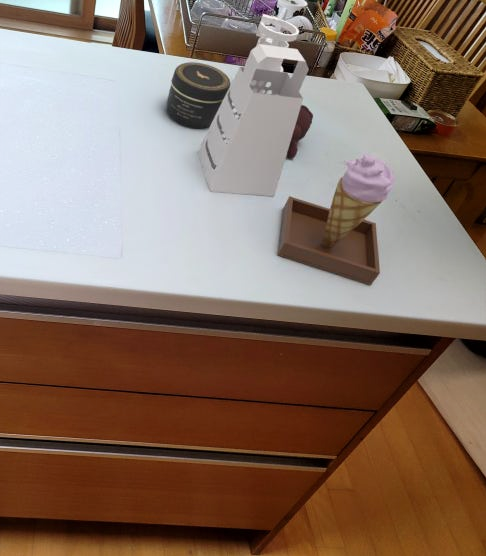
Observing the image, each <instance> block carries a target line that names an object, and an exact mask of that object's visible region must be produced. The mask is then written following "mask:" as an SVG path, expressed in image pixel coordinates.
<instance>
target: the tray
mask: <svg viewBox="0 0 486 556" xmlns="http://www.w3.org/2000/svg"><path fill="white" fill-rule="evenodd" d="M329 211H330V208H328V207H325V206H322V205H319V204H315V203H313V202H309V201H306V200H303V199H300V198H297V197H293V196H288V198H287V200H286V201H285V204H284V206H283V208H282V215H281V223H280V232H279V240H278V241H279V242H278V249H277V256H278V257H281V258H285V259H288V260H290V261H294V262H297V263H300V264H303V265H306V266H310V267H313V268H316V269H318V270H322V271H324V272H325V271H326V272H328V273H331V274H334V275H338V276H340V277H343V278H345V279H346V278H347V279H350V280H353V281H356V282H359V283H362V284H365V285H369V286H372V284H373V283H374V282H375V280H376V279H377V278H378V277H379V275H380V273H381V269H380V258H379V257H380V256H379V246H378V234H377V223H376V222H373V221H370V220H367V219H364V220H363V221H362V222H361V223H360V224H359V225H358V226H356V227H355V228H354V229H353V230H352V231H351V232H349V233H348V234H347V235H346V236H345V237H343V238H342V239H341V240H340V241H338V242H337V243H336V244H335V245H334V246H332V247H331V248H328V247H325V246H324V245H323V239H324V234H325V229H326V224H327V220H328V215H329Z"/></svg>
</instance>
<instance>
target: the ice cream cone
mask: <svg viewBox="0 0 486 556" xmlns="http://www.w3.org/2000/svg"><path fill="white" fill-rule="evenodd" d="M343 165H344V166H347V167H348V169H347V170H345V172H344V174H343V175H342V176H341V177H340V178H339V180H338V181H337V182H338V183H337V186H336V188H335V191H334V193H333V196H332V201H331V204H330V206H329V207H330V208H329V209H330V211H329V215H328V220H327V224H326V229H325V234H324V239H323V245H324V246H325V247H328V248H331V247H332V246H334V245H335V244H336V243H337V242H338V241H340V240H341V239H342V238H343V237H345V236H346V235H347V234H348V233H349V232H351V231H352V230H353V229H354V228H355V227H356V226H358V225H359V224H360V223H361V222H362V221H363V220H366V218H368V217H369V216H370V214H371V213H373V212H374V211H375V210H376V209H377V208H378V206H380V205H381V203H383V202H384V201H386V200H387V199H388V197H389V193H390V192H391V191H392V190H393V188H394V185H395V179H394V178H395V177H394V172H393V170H392V169H391V167H389V166H388V164H387V162H386V161H382V160H380V159H379V158H377V157H374V156H372V155H369V154H364V155H363V156H362V158H356V159H355V161H354V160H347V161H343Z"/></svg>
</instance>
